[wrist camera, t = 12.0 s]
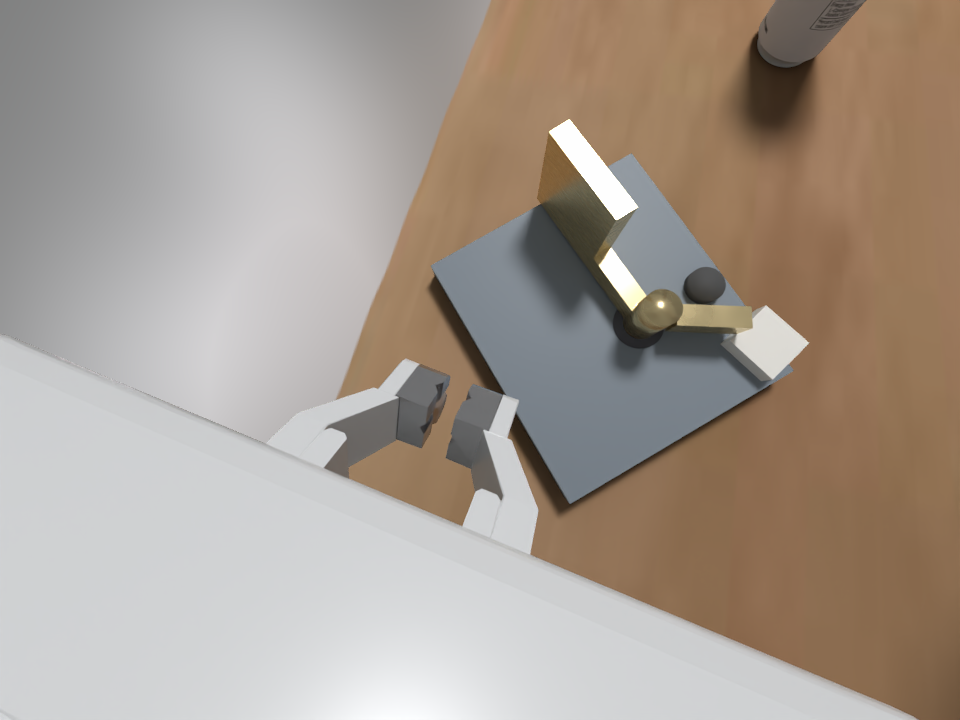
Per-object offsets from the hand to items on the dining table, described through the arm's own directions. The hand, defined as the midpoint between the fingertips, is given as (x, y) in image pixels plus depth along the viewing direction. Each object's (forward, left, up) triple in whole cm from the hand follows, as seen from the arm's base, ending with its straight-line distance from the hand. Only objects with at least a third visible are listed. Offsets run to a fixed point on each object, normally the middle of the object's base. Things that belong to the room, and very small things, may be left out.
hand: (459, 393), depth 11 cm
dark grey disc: (-20, 0, -17) cm, 26 cm away
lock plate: (-12, -2, -19) cm, 23 cm away
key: (-15, -4, -17) cm, 23 cm away
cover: (-21, +6, -17) cm, 28 cm away
